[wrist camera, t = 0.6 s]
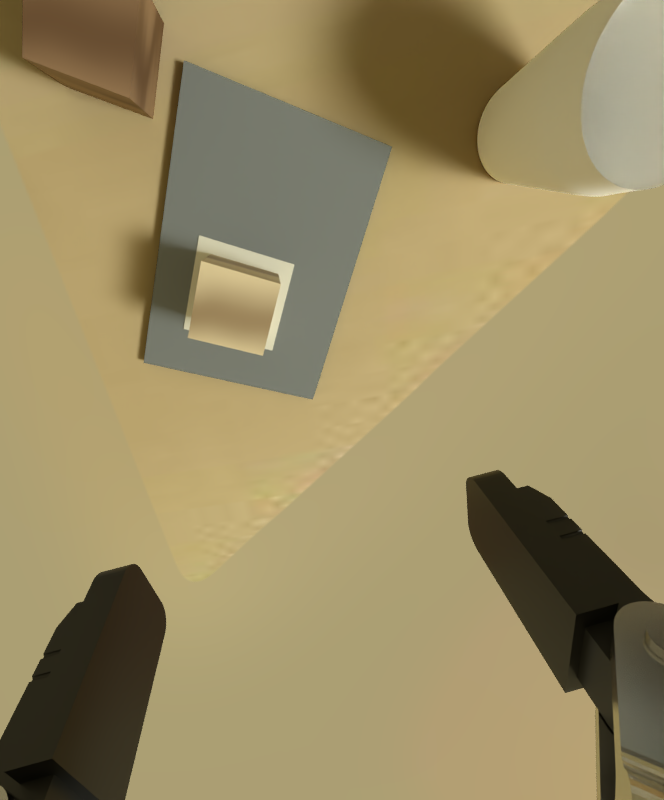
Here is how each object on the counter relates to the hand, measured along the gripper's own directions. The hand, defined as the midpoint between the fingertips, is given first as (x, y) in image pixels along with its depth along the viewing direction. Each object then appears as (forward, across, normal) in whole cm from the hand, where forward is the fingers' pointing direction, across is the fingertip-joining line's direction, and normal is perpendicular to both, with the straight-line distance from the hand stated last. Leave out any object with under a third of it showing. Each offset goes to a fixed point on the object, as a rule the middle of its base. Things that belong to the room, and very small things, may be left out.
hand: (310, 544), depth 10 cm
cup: (+26, -20, -8) cm, 34 cm away
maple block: (+24, +3, -2) cm, 24 cm away
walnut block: (+25, +6, -17) cm, 31 cm away
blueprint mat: (+25, 0, -4) cm, 25 cm away
